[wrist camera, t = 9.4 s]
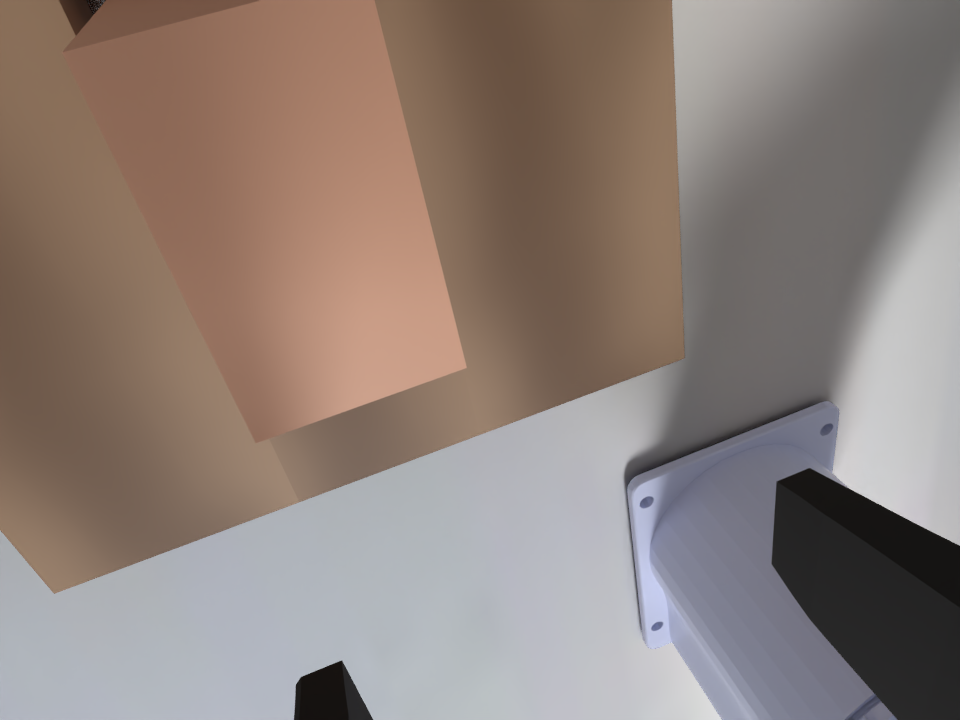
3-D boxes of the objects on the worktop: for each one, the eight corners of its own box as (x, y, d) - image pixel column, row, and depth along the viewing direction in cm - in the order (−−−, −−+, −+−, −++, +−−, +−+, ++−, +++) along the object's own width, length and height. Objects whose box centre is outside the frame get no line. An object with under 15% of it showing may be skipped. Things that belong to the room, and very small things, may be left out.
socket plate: (572, -511, 12) (649, -594, 10) (637, 314, 21) (684, 358, 19) (-568, -326, 9) (-775, -387, 7) (68, 518, 19) (53, 593, 17)
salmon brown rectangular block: (285, -63, 14) (367, -28, 7) (360, 186, 17) (467, 367, 10) (124, -22, 13) (61, 52, 7) (230, 226, 16) (256, 442, 10)
